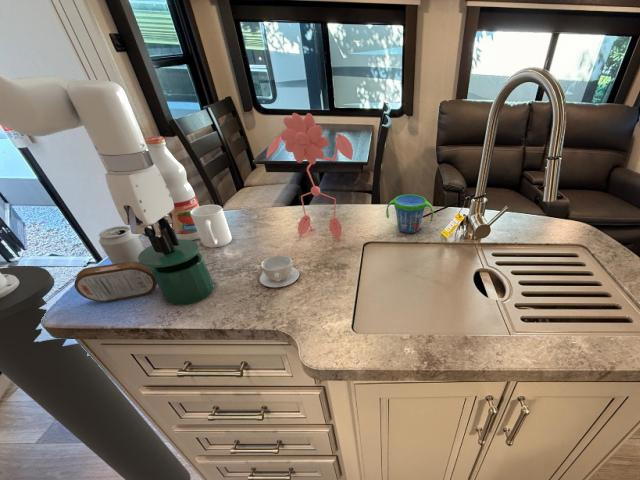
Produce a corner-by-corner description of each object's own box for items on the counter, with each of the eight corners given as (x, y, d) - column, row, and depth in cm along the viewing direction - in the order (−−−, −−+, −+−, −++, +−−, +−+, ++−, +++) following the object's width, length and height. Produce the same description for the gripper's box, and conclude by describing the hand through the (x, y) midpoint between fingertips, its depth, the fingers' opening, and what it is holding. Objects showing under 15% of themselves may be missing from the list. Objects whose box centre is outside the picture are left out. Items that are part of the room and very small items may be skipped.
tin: (164, 286, 80) (149, 256, 74) (162, 293, 77) (146, 263, 72) (90, 299, 75) (68, 269, 69) (86, 307, 72) (62, 276, 67)
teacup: (261, 269, 87) (257, 254, 84) (299, 265, 89) (296, 250, 86) (258, 291, 79) (253, 275, 76) (299, 286, 81) (296, 270, 78)
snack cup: (382, 232, 106) (382, 202, 100) (391, 219, 114) (391, 191, 108) (428, 239, 104) (431, 208, 97) (434, 225, 112) (437, 197, 105)
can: (156, 275, 83) (133, 233, 76) (121, 284, 80) (93, 241, 72) (153, 262, 88) (132, 221, 80) (120, 270, 84) (95, 228, 77)
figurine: (289, 226, 108) (265, 106, 86) (363, 234, 105) (357, 112, 83) (266, 247, 96) (232, 114, 75) (349, 257, 93) (338, 121, 71)
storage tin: (201, 305, 74) (187, 275, 69) (156, 304, 74) (138, 273, 69) (221, 280, 82) (210, 251, 77) (180, 279, 82) (167, 249, 77)
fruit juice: (189, 226, 106) (151, 133, 88) (215, 230, 104) (181, 135, 87) (168, 239, 98) (121, 140, 81) (195, 243, 97) (154, 143, 80)
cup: (232, 233, 103) (222, 203, 96) (232, 251, 94) (221, 218, 88) (203, 237, 100) (191, 206, 94) (201, 256, 91) (187, 223, 85)
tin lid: (183, 271, 67) (170, 242, 63) (127, 268, 67) (111, 240, 63) (209, 244, 77) (200, 218, 72) (160, 242, 76) (148, 216, 72)
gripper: (136, 149, 66) (171, 231, 77) (72, 172, 53) (125, 267, 64) (173, 151, 66) (203, 233, 77) (117, 175, 53) (163, 268, 64)
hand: (167, 247), depth 71 cm, fingers closed on tin lid, 2 cm apart
